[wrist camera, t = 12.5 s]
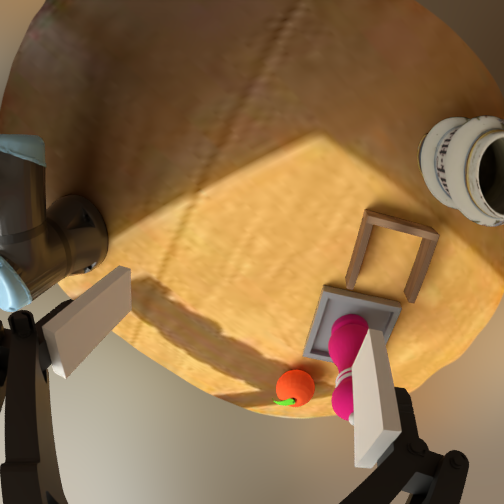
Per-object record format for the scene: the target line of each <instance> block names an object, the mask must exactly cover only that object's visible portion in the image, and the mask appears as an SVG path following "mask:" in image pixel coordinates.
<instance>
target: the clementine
mask: <svg viewBox="0 0 504 504" xmlns="http://www.w3.org/2000/svg"><path fill="white" fill-rule="evenodd" d="M314 391H315V385H314V381H313V379H312V377H311V376H310V375H309V374H308V373H306V372H304V371H302V370H290V371H288V372H285V373H284V374H283V375H282V376H281V377H280V378H279V380H278V382H277V385H276V392H277V395H278V398H279V399H280V400H281V401H280V402H276V401H274V400H273V401H274V402H275V403H277V404H279V405H285V406H287V405H288V406H291V407H299V406H302V405H304V404H306V403H307V402H309V401H310V399H311V398H312V397H313V394H314Z"/></svg>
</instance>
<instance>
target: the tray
mask: <svg viewBox="0 0 504 504" xmlns="http://www.w3.org/2000/svg"><path fill="white" fill-rule="evenodd" d="M401 309H402V307H401V305H400V302H397V301H393V300H388V299H383V298H379V297H374V296H370V295H365V294H361V293H356V292H352V291H347V290H343V289H338V288H334V287H330V286H325V285H323V288H322V291H321V295H320V298H319V301H318V305H317V308H316V311H315V315H314V318H313V321H312V324H311V327H310V331H309V334H308V337H307V340H306V343H305V346H304V349H303V356H304V357H308V358H313V359H318V360H323V361H327V362H333V361H332V359H331V357H330V355H329V349H328V343H329V339H330V337H331V329H332V326H333V324H334V322H335V321H336V320H337V319H338V318H340V317H342V316H344V315H348V314H355V315H359V316H361V317H363V318H364V319H365V320H366V321H367V323H368V326H369V329H374V330H379V331H382V332H383V336H384V341H385V345H386V343H387V341H388V339H389V337H390V335H391V332H392V330H393V328H394V326H395V323H396V321H397V319H398V316H399V314H400V312H401ZM333 363H334V362H333Z"/></svg>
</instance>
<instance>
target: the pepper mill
mask: <svg viewBox="0 0 504 504" xmlns="http://www.w3.org/2000/svg"><path fill="white" fill-rule="evenodd" d="M368 329H369V326H368V323H367V321H366V320H365V319H364V318H363V317H361V316H359V315H355V314H348V315H344V316H342V317H340V318H338V319H337V320H336V321H335V322H334V324H333V326H332V329H331V337H330V339H329V343H328V349H329V355H330V357H331V359H332V361H333V362H334V363H335V365H336V366H337V367H338V370H339V375H338V376H337V378H336V388H335V390H334V392H333V394H332V407H333V410H334V411H335V413H336V414H337V415H338V416H339V417H341V418H342V419H344V420H348V421H349V422H350V423H351V424H352V425H354V404H353V383H352V366H353V364H354V361H355V359H356V357H357V355H358V353H359V350H360V348H361V346H362V343H363V341H364V339H365V337H366V334H367V332H368Z"/></svg>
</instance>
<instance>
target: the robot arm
mask: <svg viewBox="0 0 504 504" xmlns="http://www.w3.org/2000/svg"><path fill="white" fill-rule="evenodd" d="M45 167H46V163H45V144H44V141H43V140H42V138H40V137H39V136H36V135H18V134H0V308H1V309H3V310H5V311H8V312H14V313H12V314H11V315H10V316H9V318H8V322H9V325H10V329H11V330H10V329H5V328H3V324H2V321H1V320H0V412H1V408H2V405H3V402H4V399H5V396H6V399H5V455H6V456H5V457H6V460H5V463H3V464H1V466H0V477H1V488H2V497H3V504H68V502H67V500H66V498H65V495H64V492H63V489H62V484H61V479H60V474H59V468H58V462H57V456H56V450H55V442H54V435H53V426H52V416H51V405H50V390H49V372H48V369H47V368H48V367H49V366H50V365H51V364H52V366H53V369H54V372H55V373H56V374H58V375H60V376H62V377H64V378H67V377H68V376H69V375H70V374H71V373H72V372H73V371H74V370H75V369H76V368H77V367H78V365H79V364H80V363H81V362H82V361H83V360H84V359H85V358H86V357H87V356H88V355H89V354H90V353H91V352H92V350H93V349H94V348H95V347H96V346H97V345H98V344H99V343H100V342H101V341H102V340H103V339H104V338H105V337H106V336H107V335H108V333H109V332H110V331H111V330H112V329H113V328H114V327H115V326H116V325H117V324H118V323H119V322H120V321H121V320H122V319H123V318H124V317H125V316H126V315H127V314H128V313H129V312H130V311H131V269H129V268H126V267H123V266H118V267H117V268H115V269H114V270H113V271H111V272H110V273H109V274H108V275H106V276H105V277H104V278H102V279H101V280H100V281H98V282H97V283H96V284H95V285H93V286H92V287H91V288H89V289H88V290H87V291H86V292H84V293H83V294H82V295H80V296H79V297H78V298H77V299H75V300H72V299H70V300H67V301H64V302H62V303H61V304H60V305H58V306H57V307H55V309H53V310H52V311H50V313H48V314H47V315H46V316H44V317H43V318H42V319H40V320H39V321H38V322H37V323H36V324H35V322H34V318H33V314H32V313H31V312H29V311H27V310H20V311H17V310H18V309H20V308H22V307H24V306H25V305H28V304H30V303H31V302H32V301H33V300H34V299H36V298H37V297H38V296H40V295H41V294H42V293H44V292H45V291H47V290H48V289H49V288H51V287H52V286H53V285H55V284H56V283H58V282H59V281H60V280H62V279H63V278H65V277H67V276H73V275H78V274H84V273H88V272H90V271H92V270H93V269H95V268H96V267H98V266H99V265H100V264H101V263H102V262H103V260H104V258H105V256H106V253H107V248H108V236H107V230H106V226H105V223H104V221H103V219H102V217H101V215H100V213H99V212H98V210H97V209H96V207H95V206H94V205H93V204H92V203H91V202H90V201H88V200H87V199H86V198H84V197H82V196H79V195H68V196H65V197H62V198H60V199H58V200H56V201H55V202H54V203H53V204H52V205H51V206H50V207H49V208H48V209H47V210H46V189H45ZM15 311H16V312H15ZM352 383H353V404H354V434H355V436H354V439H355V467H362V468H372V467H373V466H374V464H375V463H376V462H377V465H378V467H377V469H376V470H375V471H374V472H373V473H372V474H371V475H370V476H368V478H367V479H365V481H363V482H362V483H361V484H360V485H359V486H358V487H357V488H356V489H355V490H354V491H353V492H351V493H350V494H349V495H348V496H347V497H346V498H345V499H344V500H343V501H341V502H340V503H339V504H390V502H391V501H392V500H393V499H394V498H395V497H396V495H398V493H399V492H400V491H401V490H402V491H405V492H408V493H410V495H409V497H408V499H407V501H406V503H405V504H459V503H460V500H461V496H462V493H463V489H464V485H465V481H466V477H467V473H468V468H469V461H468V459H467V457H466V456H465V455H464V454H463V453H462V452H460V451H457V450H452V451H449V452H448V453H447V454H446V455H445V456H443V455H440V454H437V453H434V452H431V451H429V449H428V446H427V444H426V443H425V442H424V441H423V440H422V439H420V438H419V436H418V431H417V426H416V420H415V415H414V414H413V413H414V411H413V407H412V401H411V397H410V395H409V394H408V392H407V391H406V389H405V388H399V387H394V383H393V378H392V373H391V368H390V364H389V359H388V354H387V350H386V345H385V341H384V336H383V332H382V331H379V330H374V329H368V332H367V334H366V337H365V339H364V341H363V343H362V346H361V348H360V350H359V353H358V355H357V357H356V359H355V361H354V364H353V366H352Z"/></svg>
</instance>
